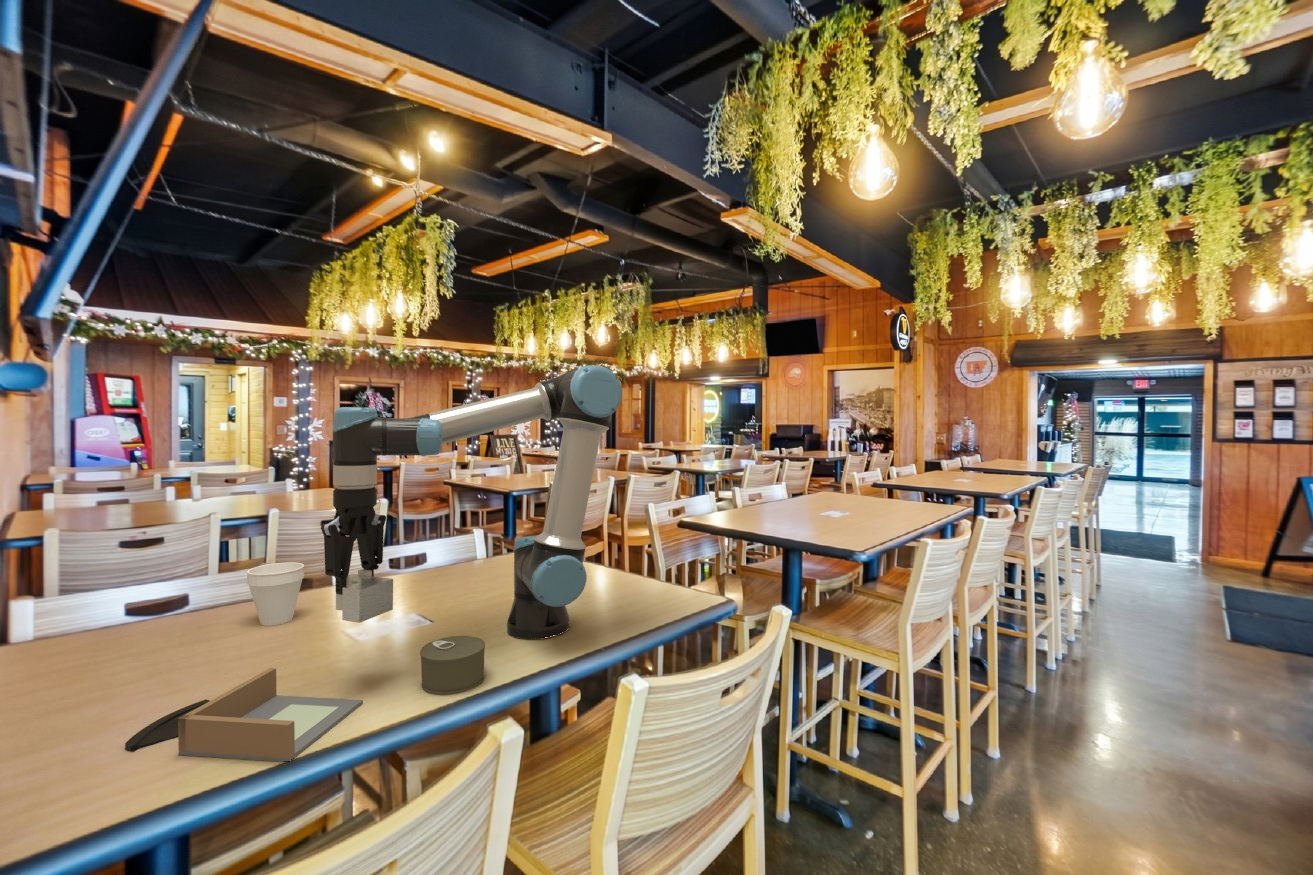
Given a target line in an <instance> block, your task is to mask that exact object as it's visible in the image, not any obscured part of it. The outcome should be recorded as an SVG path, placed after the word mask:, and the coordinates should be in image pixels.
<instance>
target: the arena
mask: <svg viewBox="0 0 1313 875" xmlns="http://www.w3.org/2000/svg"><path fill="white" fill-rule="evenodd" d="M362 703H363V704H364V700H363V699H355V698H354V699H351V698H333V697H315V696H313V697H312V696H296V695H279V694H277V668H276V667H270V668H269V667H268V668H267V669H266V670H264V671H262V672H260V673H258V674H256V675H255V676H253V677H251V678H250V679H247V680H246V681H244V682H242V683H240V684H238V685H237V686H235V687H233V688H230V690H228V691H225V692H223V693H222V694H220V695H218V696H216V697H215V698H213V699H211V700H210V701H209V702H207V703H205V704H204V705H202V706H200V707H198V708H196V709H195V710H193V711H191V712H189V713H187V714H185V715H184V716H182V717H180V718H178V738H177V739H178V742H177V743H178V744H177V745H178V756H189V757H202V758H205V757H206V758H220V759H232V760H233V759H235V760H247V759H251V761H262V760H264V762H277V761H290V760H291V759H292V760H294V759H295V758H296V757H298V754H299V753H300V754H301V753H303V752H304V751H305V750H306V749H308V748H309V747H310V746H312V745H313V744H314V743H316V742H317V741H318V740H319V739H320V738H322V737H323V736H324V735H325V734H326V733H328V732H329V731H330V730H332V728H334V727H335V726H336V725H337V723H338V722H339V723H340V722H342V721H343V720H344V719H345V718H347V717H348V716H349V715H350V714H352V713H353V712H354V711H355V710H356V709H358V708H359V707H360V706H362V705H363V704H362ZM358 706H359V707H358ZM357 707H358V708H357ZM347 715H348V716H347ZM342 719H343V720H342ZM339 723H338V724H339ZM317 739H318V740H317ZM308 746H309V747H308ZM304 749H305V750H304ZM303 750H304V751H303ZM300 754H299V755H300ZM295 756H296V757H295ZM294 757H295V758H294ZM293 758H294V759H293ZM252 759H253V760H252ZM292 760H291V761H292ZM291 761H290V762H291Z"/></svg>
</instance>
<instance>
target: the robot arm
mask: <svg viewBox="0 0 1313 875" xmlns="http://www.w3.org/2000/svg"><path fill="white" fill-rule="evenodd" d="M622 399H623V388H622V384H621V382H620V380H619V379H618V377H617V375H616V374H615V373H614V372H613V371H612V370H610V369H609V368H608V367H606V366H605V367H604V366H601V365H592V364H590V365H584V366H581V367H580V368H576V369H572V370H569V371H567V372H565V373H562V374H561V375H558V376H555V377H553V378H551V379H547V380H545V381H540V382H537V383H536V384H535V385H534V387H533V388H528V389H525V390H520V391H516V392H511V393H508V394H507V393H506V394H503V395H499V396H495V397H490V398H486V399H483V400H478V401H474V402H470V403H466V404H462V405H457V406H454V407H450V408H449V407H448V408H446V409H445V408H444V409H441V410H438V411H433V412H429V413H426V414H420V415H416V416H413V417H406V418H405V417H404V418H401V417H399V418H397V417H396V418H387V417H379V416H378V411H377V409H376V408H375V407H358V406H356V407H355V406H354V407H353V406H351V407H350V406H348V407H347V406H345V407H344V406H342V407H338V408H336V409H335V410H334V413H333V423H332V424H333V425H332V427H333V428H332V454H333V455H332V457H333V458H332V459H333V463H332V464H333V465H332V470H333V472H332V475H333V476H332V480H333V481H332V484H333V485H334V486H335V488H334V489H333V491H332V505H333V506H332V507H333V508H334V509H335V514H334V516H333V520H332V521H330V522H329V523H323V524H321V525H320V529H321V533H322V536H323V543H324V544H323V546H324V547H323V548H324V573H325V576H330V577H334V579H335V590H334V591H335V595H336V594H338V610H337V611H342V599H343V587H346V586H349V585H352V576H348V575H350V574H349V573H350V568H351V567H350V566H351V561H352V555H353V549H354V544H355V543H354V542H357V543H356V544H357V547H358V554H359V559H360V566H361V568H362V569H358V570H357V574H359V575H366V576H374V575H375V570H378V569H379V567H380V566H379V565H381V564H383V561H384V559H383V558H384V535H385V534H384V528H385V524H386V520H387V515H385V514H377V513H376V510H375V508H374V507H375V506H376V505H377V502H378V499H377V498H378V495H377V494H378V489H377V486H376V484H378V465H377V464H378V463H377V462H378V461H377V459H378V456H382V457H383V456H385V457H386V456H401V457H402V456H405V457H406V456H422V457H426V456H435V455H439V454H441V451H442V447H443V445H445V444H448V443H452V442H455V441H460V440H463V439H464V440H465V439H467V438H471V437H475V436H479V435H482V434H483V435H484V434H487V433H490V432H494V431H498V430H502V429H506V428H511V427H514V426H517V425H518V426H519V425H521V424H525V423H528V422H532V421H536V420H537V421H538V420H540V419H543V420H545V421H547V422H548V421H552V420H557V419H558V421H559V422H560V424H561V425H562V427H563V431H562V436H561V441H560V445H559V451H558V455H557V460H556V466H555V471H554V476H553V480H552V485H551V490H550V491H551V492H550V496H549V500H548V506H547V510H546V515H545V521H544V525H543V530H542V532H541V533H540V534H537V535H528V536H526V535H525V536H520V537H517V538H516V539H515V541H514V545H513V549H512V552H513V568H514V569H513V570H514V571H513V589H514V590H513V591H514V594H513V595H514V596H513V597H514V598H513V602H512V605H511V608H510V612H509V615H508V617H507V620H506V633H507V634H508V635H509V636H511V637H513V638H517V639H523V640H542V639H541V638H544V639H546V638H545V637H550V636H553V635H557V636H559V635H558V634H560V633H562V632H564V633H565V631H566V630H567V629H568V628H570V615H569V612H568V609H567V606H568V605H570V604H571V603H573V602H575V600H577V599H578V598H579V597H580V596H581V594H582V593H583V592H584V590H585V587H586V585H587V577H588V576H587V572H586V567H585V565H584V559H585V553H586V548H587V546H586V544H585V543H584V541H583V540H582V538H581V537H582V532H583V529H584V528H583V527H584V523H585V518H586V513H587V507H588V502H589V498H590V494H591V487H592V482H593V478H594V472H595V466H596V462H597V456H598V452H599V446H600V441H601V437H602V435H603V434H604V433H606V432H607V431H609V429H610V424H611V419H612V415H613V414H614V413H615V412H616V411H617V410H618V408H619V407H620V405H621V402H622ZM374 485H375V486H376V487H375V486H374ZM568 630H569V629H568ZM568 630H567V631H568ZM567 631H566V632H567ZM562 634H563V633H562ZM560 635H561V634H560ZM550 638H551V637H550Z"/></svg>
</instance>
